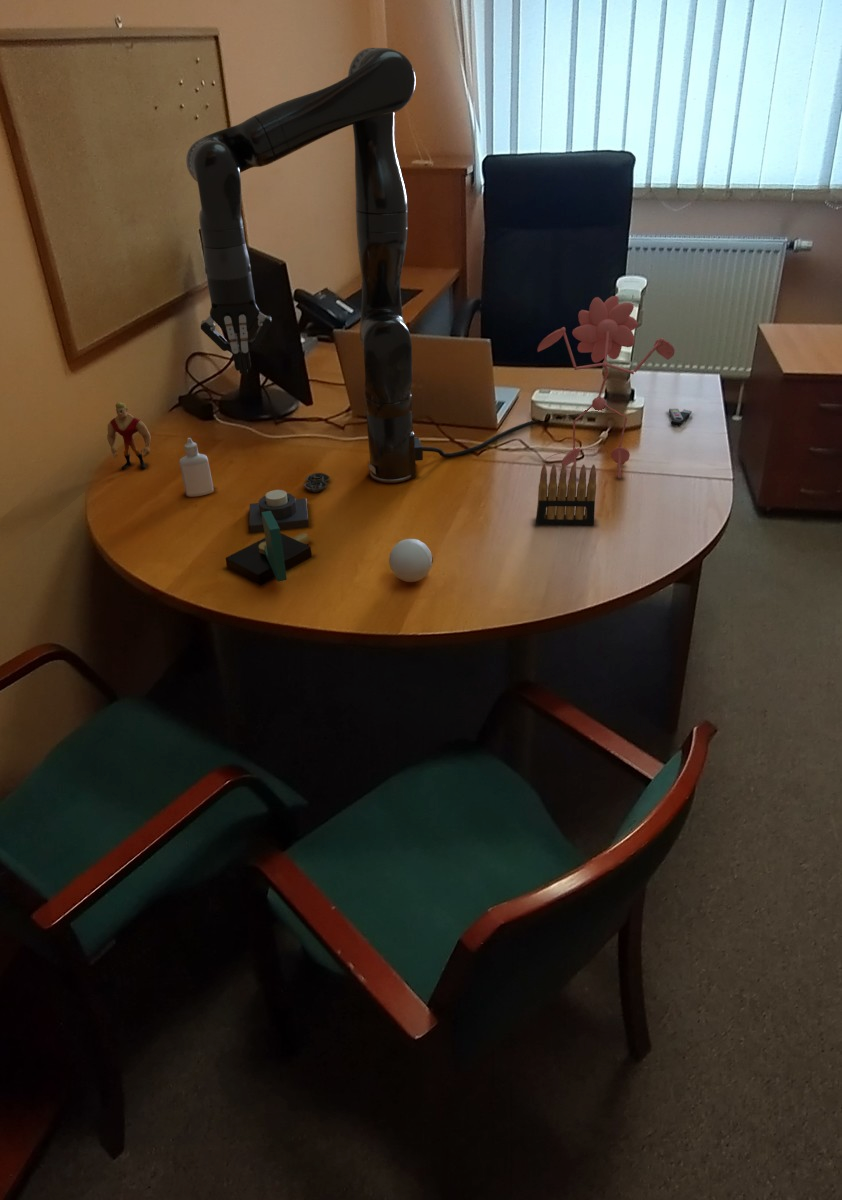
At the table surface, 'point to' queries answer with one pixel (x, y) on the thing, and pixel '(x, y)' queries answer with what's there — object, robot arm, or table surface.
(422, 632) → the table surface
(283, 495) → the button
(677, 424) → the usb flash drive
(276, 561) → the valve lever
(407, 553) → the white sphere
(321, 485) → the corroded twin loop
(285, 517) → the button housing
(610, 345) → the flower sculpture
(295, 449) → the table surface
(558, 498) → the ammunition clip
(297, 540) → the valve block
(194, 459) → the eye dropper bottle
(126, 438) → the action figure
